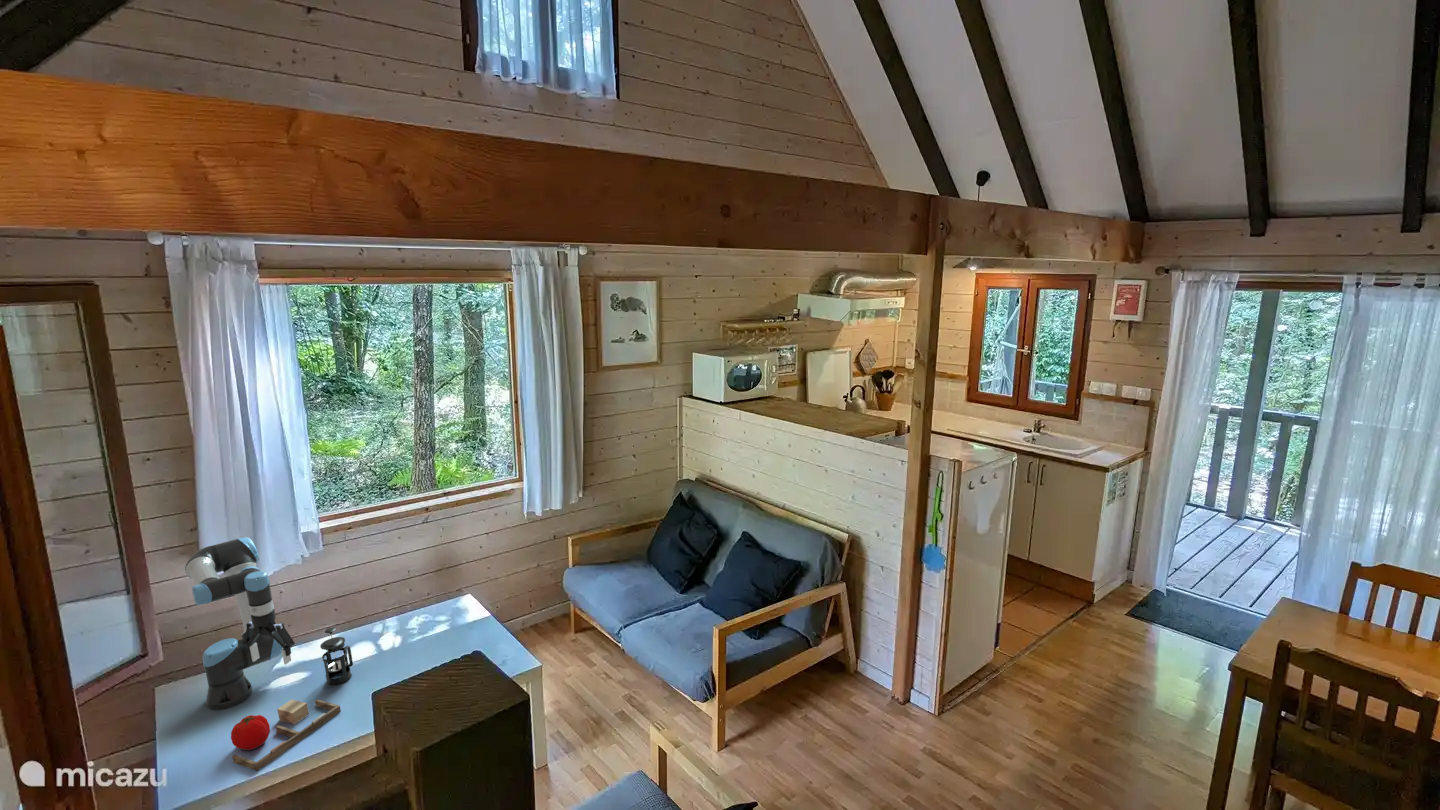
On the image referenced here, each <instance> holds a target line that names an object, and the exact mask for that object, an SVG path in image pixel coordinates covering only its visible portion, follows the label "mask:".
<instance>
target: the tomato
mask: <svg viewBox="0 0 1440 810" xmlns="http://www.w3.org/2000/svg"><path fill="white" fill-rule="evenodd" d="M270 732H271V729H270V724H269V721H268V719H267V718H266V717H265V716H264V715H261V714H257V715H253V714H250V715H247V716H245V717H244V718H242V719H241V720H240V721H239V722H237V723H236V724H235V725H233V728H232V730H231V733H230V739H231V742H232V745H233V746H234V747H236V748H237V749H240V750H245V751H247V750H249V751H250V750H253V749H256V748H258V747H259V746H261V745H263V744H264V743H265V742H266V741H267V740H268V738H269V735H270Z"/></svg>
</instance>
